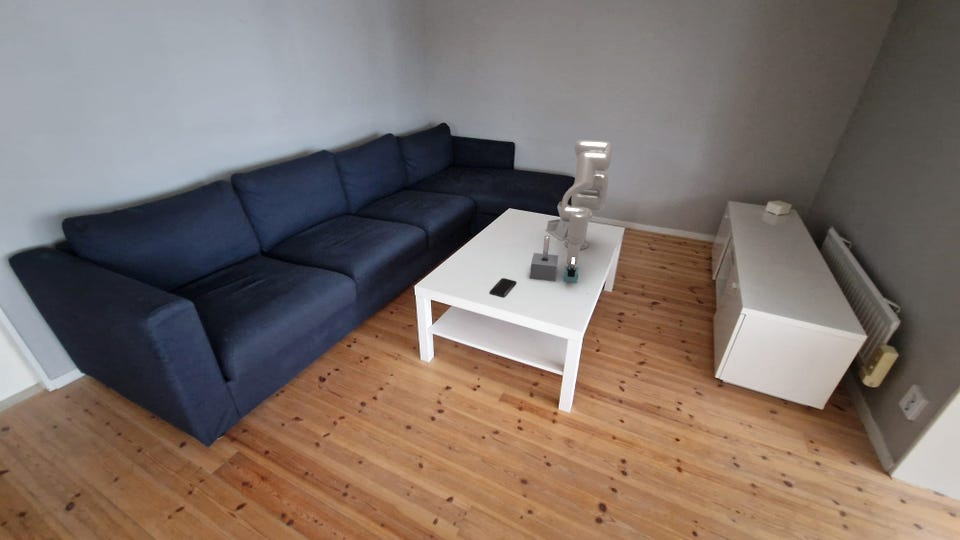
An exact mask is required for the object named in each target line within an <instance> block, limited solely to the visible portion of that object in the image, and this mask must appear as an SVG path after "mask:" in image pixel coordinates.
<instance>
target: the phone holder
mask: <svg viewBox="0 0 960 540" xmlns="http://www.w3.org/2000/svg"><path fill="white" fill-rule="evenodd" d="M561 205H562V201H559V203H558V204H557V211H558V214H559V216H560V212H561ZM567 205H568V206H571V205H570V204H569V203H568V204H567ZM546 226H547V227H546V232H547V233H548V234H549V235H551V236H552V237H554V238H556V239H557V240H558V241H560V242H565V241H567V236H568V228H569V222H564V221H562V220H561V218H560V217H559V219H552V220H548V221H547V225H546Z"/></svg>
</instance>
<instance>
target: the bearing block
mask: <svg viewBox="0 0 960 540" xmlns="http://www.w3.org/2000/svg"><path fill="white" fill-rule="evenodd" d="M542 259H543V253H540V252H539V253H538V252H537V253H536V252H533V255H532V259H531V263H530V274H529V279H531V280H539V281H540V280H541V281H542V280H543V281H550V282H555V281H556V278H557V267H558V262H559V261H558V260H559V255H558V254H549V253H548V259H547V261H542Z"/></svg>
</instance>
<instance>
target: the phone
mask: <svg viewBox="0 0 960 540" xmlns="http://www.w3.org/2000/svg"><path fill="white" fill-rule="evenodd" d="M516 285H517V281H516V280H513V279H509V278H505V277H503V278H501V279H499V281H497V283H496V284H495V285H494V286H493V287H492V288H491V289H490V290H489V295H492V296H496V297H500V298H506V297H507V296H508V294H509V293H510V292H511V291H512V290H513V289H514V288H515V286H516Z"/></svg>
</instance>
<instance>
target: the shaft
mask: <svg viewBox="0 0 960 540" xmlns="http://www.w3.org/2000/svg"><path fill="white" fill-rule="evenodd" d="M549 247H550V236H549V235H544V239H543V250H542V254H543V259H542V261H547V259H548V254H549V249H550V248H549Z"/></svg>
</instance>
